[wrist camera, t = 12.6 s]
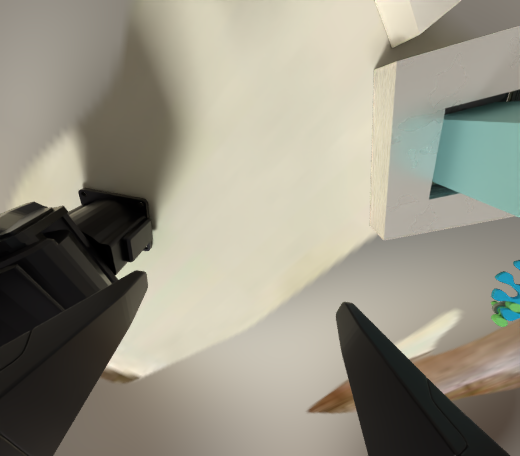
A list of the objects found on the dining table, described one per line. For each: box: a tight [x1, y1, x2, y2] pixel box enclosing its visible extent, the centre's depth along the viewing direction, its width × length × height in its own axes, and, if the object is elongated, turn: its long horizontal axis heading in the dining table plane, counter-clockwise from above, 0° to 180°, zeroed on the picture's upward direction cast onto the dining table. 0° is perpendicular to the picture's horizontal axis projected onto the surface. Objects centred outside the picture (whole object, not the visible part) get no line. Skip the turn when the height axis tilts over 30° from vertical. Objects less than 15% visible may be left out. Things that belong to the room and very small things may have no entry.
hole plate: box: [370, 25, 520, 240], centre depth 16 cm, size 14×14×3 cm
